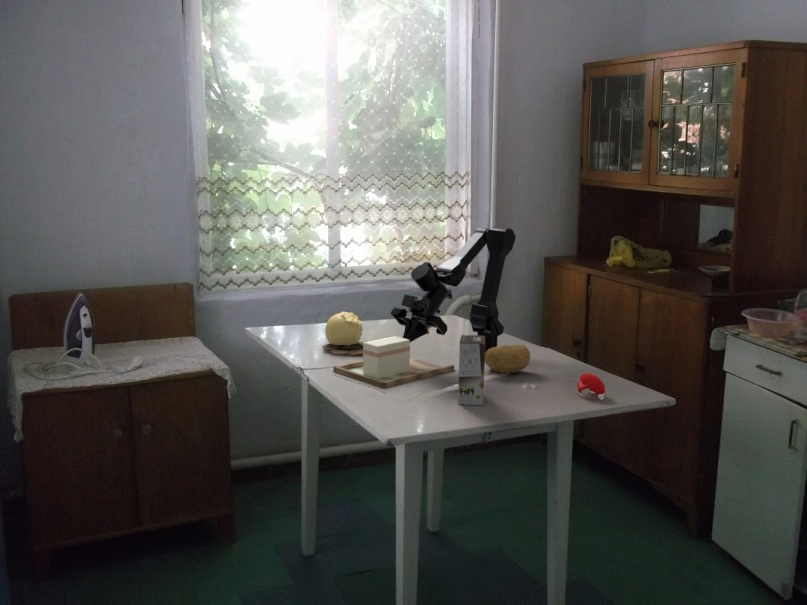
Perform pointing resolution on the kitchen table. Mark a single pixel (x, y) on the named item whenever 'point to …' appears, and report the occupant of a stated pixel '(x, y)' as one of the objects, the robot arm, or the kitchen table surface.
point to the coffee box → (471, 370)
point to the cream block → (386, 356)
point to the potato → (507, 358)
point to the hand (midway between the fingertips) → (403, 344)
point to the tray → (413, 374)
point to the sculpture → (343, 329)
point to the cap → (590, 384)
